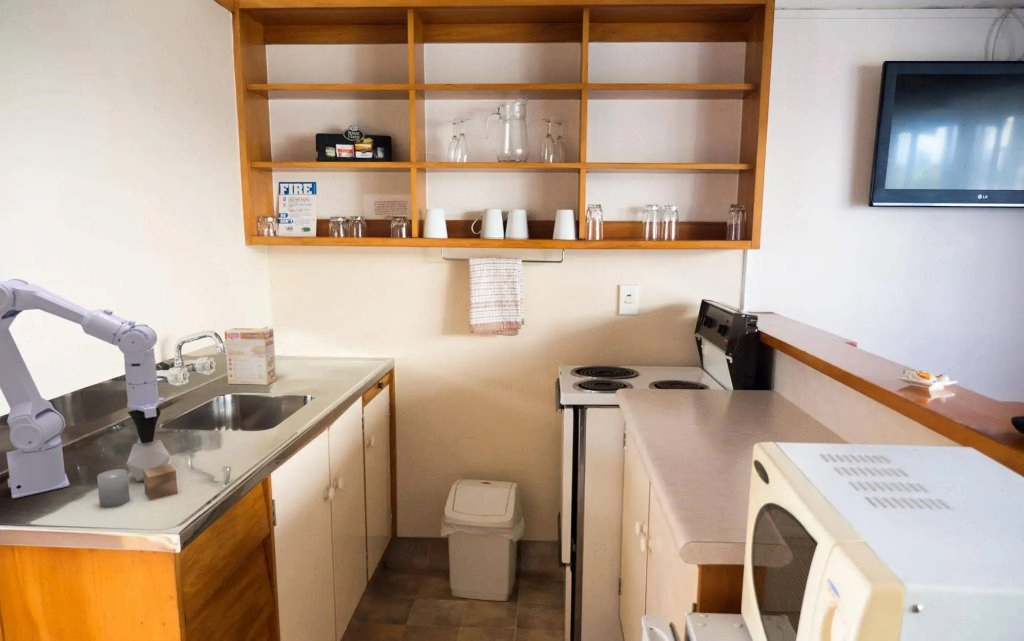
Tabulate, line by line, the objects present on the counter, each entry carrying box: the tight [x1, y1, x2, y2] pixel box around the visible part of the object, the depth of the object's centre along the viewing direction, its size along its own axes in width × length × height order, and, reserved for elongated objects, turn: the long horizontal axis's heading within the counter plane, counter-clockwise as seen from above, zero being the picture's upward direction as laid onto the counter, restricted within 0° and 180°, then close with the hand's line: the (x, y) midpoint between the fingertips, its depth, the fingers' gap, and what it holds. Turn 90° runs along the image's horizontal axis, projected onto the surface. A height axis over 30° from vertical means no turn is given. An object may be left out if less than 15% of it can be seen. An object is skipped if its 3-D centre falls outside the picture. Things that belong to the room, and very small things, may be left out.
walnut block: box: [143, 463, 178, 501], centre depth 125 cm, size 5×5×5 cm
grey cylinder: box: [96, 468, 131, 509], centre depth 121 cm, size 5×5×6 cm
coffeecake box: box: [224, 327, 277, 386], centre depth 217 cm, size 15×7×20 cm, turn 84°
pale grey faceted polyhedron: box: [126, 439, 171, 483], centre depth 133 cm, size 8×9×10 cm
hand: (147, 441), depth 132 cm, fingers closed
